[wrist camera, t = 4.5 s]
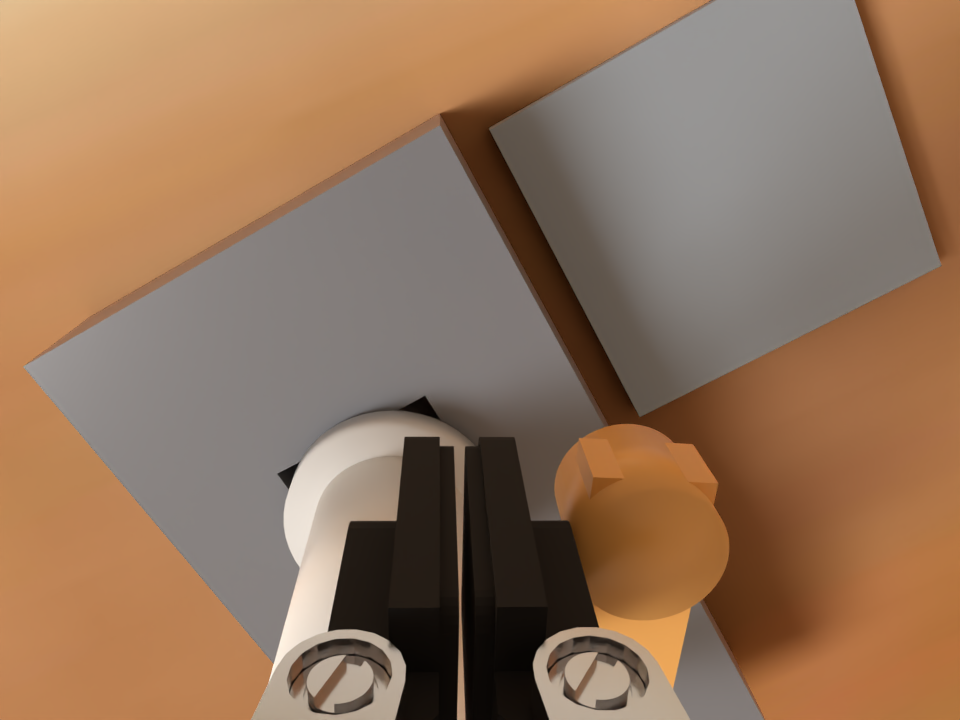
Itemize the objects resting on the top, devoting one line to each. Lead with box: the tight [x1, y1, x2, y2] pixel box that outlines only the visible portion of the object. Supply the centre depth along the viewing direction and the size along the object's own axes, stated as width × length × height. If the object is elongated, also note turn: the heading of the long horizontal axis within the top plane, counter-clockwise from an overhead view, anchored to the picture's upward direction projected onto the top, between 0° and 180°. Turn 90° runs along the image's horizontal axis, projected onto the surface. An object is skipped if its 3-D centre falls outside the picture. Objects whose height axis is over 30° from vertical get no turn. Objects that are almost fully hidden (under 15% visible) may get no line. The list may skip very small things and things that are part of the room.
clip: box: [554, 424, 729, 688], centre depth 15 cm, size 13×2×6 cm, turn 175°
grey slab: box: [23, 114, 765, 720], centre depth 23 cm, size 22×12×8 cm, turn 29°
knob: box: [269, 396, 475, 720], centre depth 20 cm, size 6×6×11 cm
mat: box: [489, 0, 941, 417], centre depth 23 cm, size 10×10×1 cm
